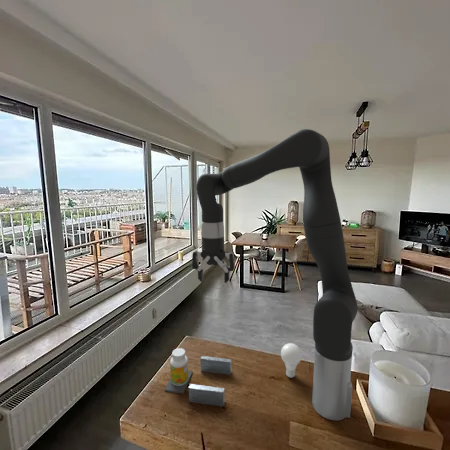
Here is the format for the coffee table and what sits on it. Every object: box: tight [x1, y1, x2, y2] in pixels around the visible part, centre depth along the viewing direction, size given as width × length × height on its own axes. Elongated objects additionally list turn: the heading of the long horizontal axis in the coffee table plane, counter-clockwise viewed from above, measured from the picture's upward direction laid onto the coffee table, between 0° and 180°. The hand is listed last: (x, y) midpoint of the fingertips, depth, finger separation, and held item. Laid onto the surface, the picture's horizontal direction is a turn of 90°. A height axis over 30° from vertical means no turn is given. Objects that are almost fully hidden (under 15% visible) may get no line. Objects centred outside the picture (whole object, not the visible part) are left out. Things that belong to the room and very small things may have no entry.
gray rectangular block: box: [164, 370, 193, 395], centre depth 84 cm, size 6×9×1 cm, turn 170°
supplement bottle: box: [169, 347, 189, 386], centre depth 83 cm, size 5×5×10 cm
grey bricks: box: [188, 355, 232, 407], centre depth 82 cm, size 10×14×4 cm
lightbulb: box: [280, 342, 303, 378], centre depth 85 cm, size 6×6×11 cm
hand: (213, 281), depth 91 cm, fingers open, 8 cm apart
